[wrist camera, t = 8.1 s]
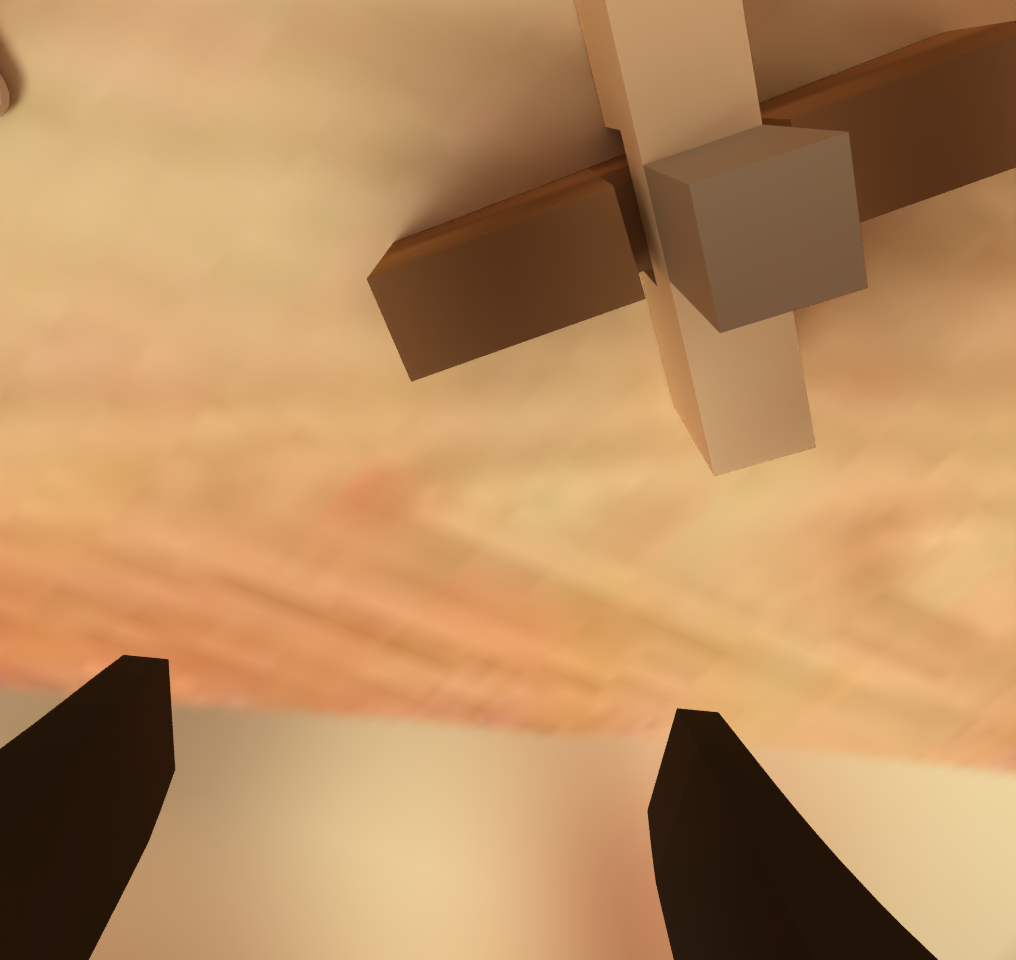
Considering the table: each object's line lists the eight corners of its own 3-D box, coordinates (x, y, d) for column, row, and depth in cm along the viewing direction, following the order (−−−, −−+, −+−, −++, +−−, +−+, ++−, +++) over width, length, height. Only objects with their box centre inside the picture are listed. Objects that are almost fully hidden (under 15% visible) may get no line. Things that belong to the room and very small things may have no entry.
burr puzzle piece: (755, 381, 19) (898, 536, 12) (673, 406, 19) (769, 571, 12) (661, -104, 15) (799, -276, 8) (558, -65, 15) (608, -201, 8)
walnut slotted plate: (427, 326, 18) (411, 381, 15) (393, 242, 17) (366, 278, 14) (956, 134, 17) (1083, 143, 13) (945, 31, 16) (1078, 11, 12)
